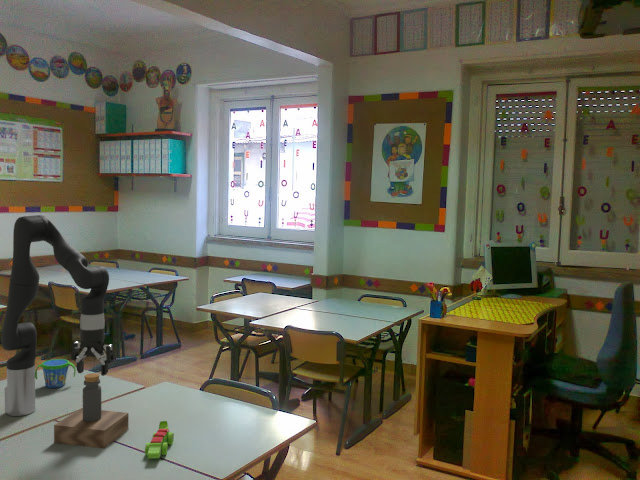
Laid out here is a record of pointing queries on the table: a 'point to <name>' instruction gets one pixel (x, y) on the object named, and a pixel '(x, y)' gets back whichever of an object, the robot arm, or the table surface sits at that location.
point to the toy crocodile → (159, 441)
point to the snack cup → (55, 372)
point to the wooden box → (91, 429)
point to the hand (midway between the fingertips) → (92, 373)
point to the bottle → (91, 398)
